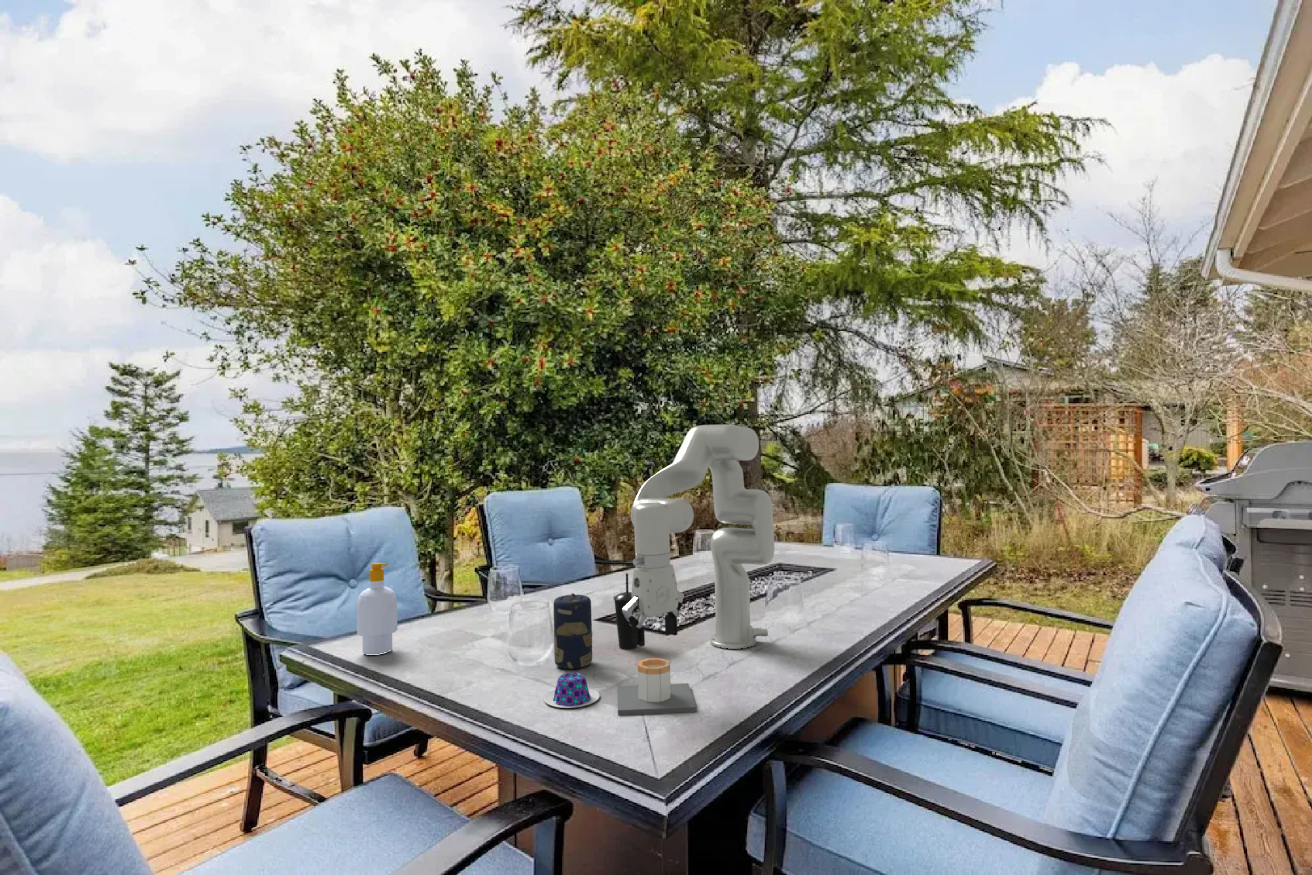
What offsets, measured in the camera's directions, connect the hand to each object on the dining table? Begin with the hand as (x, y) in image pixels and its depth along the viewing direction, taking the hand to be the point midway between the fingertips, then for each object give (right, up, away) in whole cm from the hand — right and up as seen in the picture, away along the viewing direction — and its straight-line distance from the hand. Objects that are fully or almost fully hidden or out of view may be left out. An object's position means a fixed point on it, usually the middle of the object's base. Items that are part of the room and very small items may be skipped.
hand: (655, 639), depth 147 cm
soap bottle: (-76, -15, +38) cm, 86 cm away
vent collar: (0, -12, -1) cm, 12 cm away
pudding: (-18, -14, +1) cm, 23 cm away
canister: (-21, -14, +24) cm, 35 cm away
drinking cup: (-7, -14, +39) cm, 42 cm away
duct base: (0, -13, -1) cm, 13 cm away
